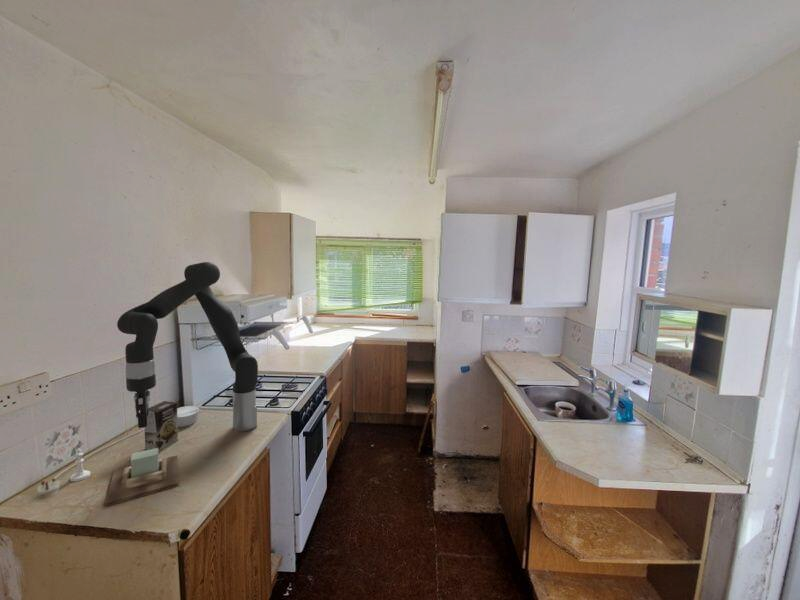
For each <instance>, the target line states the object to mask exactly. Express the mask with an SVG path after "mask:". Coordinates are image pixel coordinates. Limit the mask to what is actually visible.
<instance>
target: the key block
mask: <svg viewBox="0 0 800 600" xmlns="http://www.w3.org/2000/svg"><path fill="white" fill-rule="evenodd" d="M159 457H160V456H159V452H158V448H155V449H150V450H146V449H145V450H142V451H137V452H133V453H132V454H131V458H130V466H131V478H134V477H138V476H142V475H146V474H150V473H154V472H158V471H159V459H160V458H159Z"/></svg>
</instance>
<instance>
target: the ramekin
mask: <svg viewBox="0 0 800 600" xmlns="http://www.w3.org/2000/svg"><path fill="white" fill-rule="evenodd" d="M199 413H200V408H199V407H198V406H195V405H185V406H180V407H177V426H178V428H182V427H188V426H190V425H193V424H194V423H196V422H197V420H198V418H199V417H198V416H199Z"/></svg>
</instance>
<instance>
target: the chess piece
mask: <svg viewBox="0 0 800 600" xmlns="http://www.w3.org/2000/svg"><path fill="white" fill-rule="evenodd" d="M83 456H84V452H83V449H81V447H80V448H77V449H76V450H75V454H74V458H75V459H76V460H75V461H74V463H75V464H77V466H76V472H75V473H73V474H72V475H71V476H70V479H69V480H70V481H71V482H80V481H82V480H85V479H87V478H88V477H90V476H91V471H90V470H87V469H84V466H83V462H84V461H85V460H84V458H83Z"/></svg>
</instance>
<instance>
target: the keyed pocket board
mask: <svg viewBox="0 0 800 600" xmlns="http://www.w3.org/2000/svg"><path fill="white" fill-rule="evenodd" d="M178 460H179V457H178V455H177V454H176V455H173V456H168V457H164V458H159V471H158V472H154V473H150V474H146V475H142V476H138V477H134V478H131V465H130V466H126V467H123V468H118V469H115V470H113V475H112V478H111V481H110V486H109V488H108V489H109V490H108V492H107V496H106V500H105V507H107V506H111V505H115V504H118V503H122V502H125V501H128V500H132V499H136V498H139V497H144V496H147V495H150V494H154V493H156V492H157V493H158V492H161V491H164V490H169V489H171V488H175V487H178V486H179V461H178Z"/></svg>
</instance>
